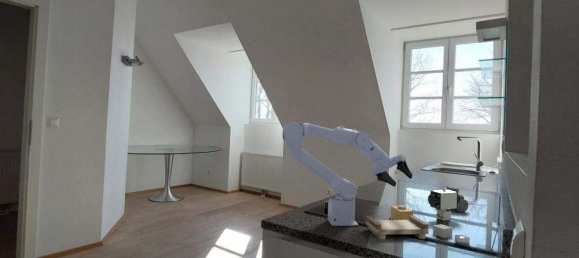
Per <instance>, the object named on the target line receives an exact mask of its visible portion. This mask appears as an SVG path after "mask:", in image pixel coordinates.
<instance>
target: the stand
mask: <svg viewBox="0 0 579 258" xmlns="http://www.w3.org/2000/svg"><path fill="white" fill-rule="evenodd" d="M429 225H430V224H429V223H427V222H426V221H424V220H421V219H420V218H418V217H417V216H415V215H413V216H409V220H392V219H375V217H373V216H371V215H365V226H367V227H368V230H369V231H370V232H371V233H372V234H373V235H374V236H375V237H376V238H377V239H379V240H386V236H387V235H413V234H414V236H415V237H416V238H418V239H420V240H425V239H426V235H429V232H430V231H429V230H430V229H429V227H430V226H429Z"/></svg>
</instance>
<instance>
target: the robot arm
mask: <svg viewBox="0 0 579 258" xmlns="http://www.w3.org/2000/svg"><path fill="white" fill-rule="evenodd" d="M308 135H315V136H321V137H326V138H331V140H332V141H333V142H334V143H338V144H343V145H346V146H347V145H348V146H351V147H352V146H353V147H354V148H358V150H359V151H361V153H362V154H363V156H364V155H365V157H366V158H368V159H369V161H371V163H373V164H374V165H375V166H376V168H375V169H373V170H371V174H370V175H372V176H373V177H374V178H376V179H377V180H378V181H379V182H384V183H386V184H388V185H390V186H392V187H393V188H395V187H396V186H397V182H396V180H394V178H392V176H391V175H390V174H389V173H388V172H387V171H388V170H389V169H390V168H393V167H394V166H396V168H395V169H396V170H398V171H400V172H401V173H403V174H404V175H405V176H406V177H408V179H410V180H411V179H413V173H412V172H411V170H410V168H409V166H408V164H407V161H406V157H405V155H404V154H402V153H401V154H399V155H396V156H393V157H390V156H389V155H388V154H387V153H386V152H385V151H384V150H383V149H382V148H381V147H379V145H378V144H377V143H376V142H374V141H373V140H372V139H371V135H370V134H369V133H367V132H365V131H358V130H357V129H355V128H353V129H350V128H346V127H345V126H344V125H340V126H336V127H335V128H333V129H332V128H328V127H325V126H320V125H316V124H312V123H308V122H295V121H293V122H288V123H286V124H284V126H283V127H282V139H283V142H284V144H285V148H286V150H287V153H288V156H290V157H291V158H292V159H294V160H295V161H297V162H298V163H300V164H301V165H302V166H304V167H305V168H306V169H307V170H309V171H310V172H311V173H313V174H315V176H317V177H319V178H320V179H322V180H323V181H324V182H326V184H328V185H330V186H331V187H332V188H333V189H334V191H335V193H336V194H335V196H334V197H333V198H328V202H327V203H328V205H327V221H328V222H329V224H330V225H331V226H333V227H340V226H341V227H343V226H344V227H347V226H351V227H352V226H354V227H355V226H359V223H358V222H357V221H356V220H355V218H356V217H355V216H356V215H355V214H356V196H357V194H358V187H357V185H356V184H355V183H354V182H352V181H349V180H348V179H347V178H344V177H341V176H339V175H338V174H337V173H335V172H334V171H333V170H331V169H330V168H328V167H327V166H325V164H323V163H322V162H320V161H319V160H317V159H316V158H315V157H314V156H313V155H311V154H309V153H308V152H307V151H305V150H304V149H303V148H302V138H303V137H305V136H308Z"/></svg>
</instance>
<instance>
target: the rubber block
mask: <svg viewBox="0 0 579 258" xmlns="http://www.w3.org/2000/svg"><path fill="white" fill-rule="evenodd" d="M434 234H435V235H434ZM432 235H434V236H437V235H438V237H439V236H440V238H443V239H446V238H451V237H453V227H451V226H448V225H445V224H441V223H440V224H434V225H432Z"/></svg>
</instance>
